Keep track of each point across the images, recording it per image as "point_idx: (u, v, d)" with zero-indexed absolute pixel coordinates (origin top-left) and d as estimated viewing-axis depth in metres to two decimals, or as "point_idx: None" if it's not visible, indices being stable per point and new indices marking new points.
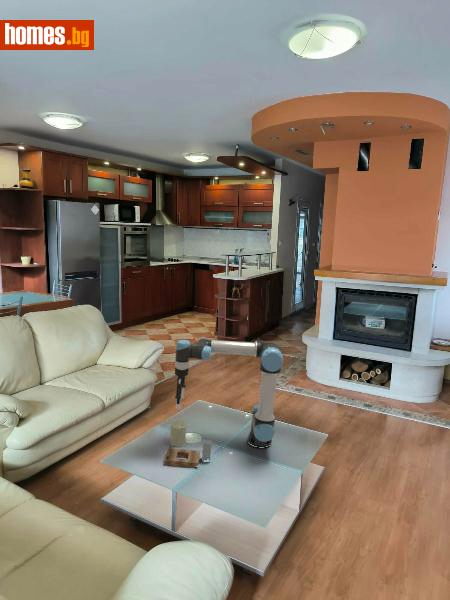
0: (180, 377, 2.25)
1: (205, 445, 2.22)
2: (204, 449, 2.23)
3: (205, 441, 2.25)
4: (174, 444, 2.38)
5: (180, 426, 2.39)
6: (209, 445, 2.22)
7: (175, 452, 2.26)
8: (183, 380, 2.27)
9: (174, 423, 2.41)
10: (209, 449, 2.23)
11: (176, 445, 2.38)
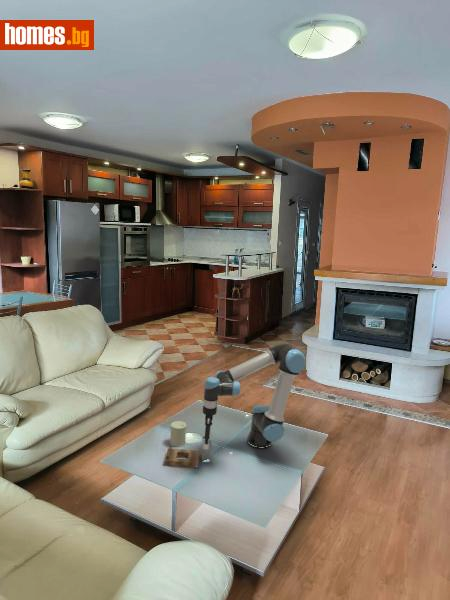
0: (209, 416, 2.18)
1: None
2: (204, 449, 2.23)
3: None
4: (174, 444, 2.38)
5: (180, 426, 2.39)
6: (209, 445, 2.22)
7: (175, 452, 2.26)
8: (211, 419, 2.20)
9: (174, 423, 2.41)
10: (209, 449, 2.23)
11: (176, 445, 2.38)
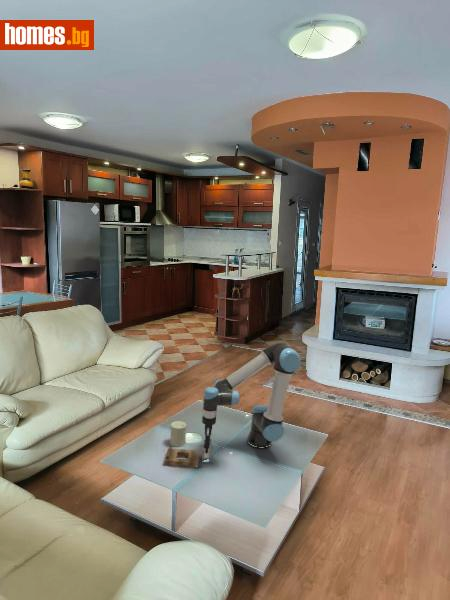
0: (208, 426, 2.19)
1: None
2: None
3: None
4: (174, 444, 2.38)
5: (180, 426, 2.39)
6: (209, 445, 2.22)
7: (175, 452, 2.26)
8: (211, 429, 2.21)
9: (174, 423, 2.41)
10: (209, 449, 2.23)
11: (176, 445, 2.38)
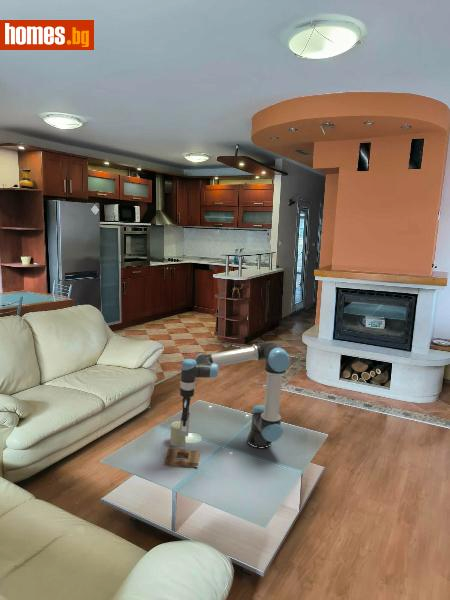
0: (186, 398, 2.14)
1: None
2: None
3: None
4: (174, 444, 2.38)
5: None
6: (187, 418, 2.18)
7: (175, 452, 2.26)
8: (189, 402, 2.16)
9: (174, 423, 2.41)
10: (187, 422, 2.18)
11: (176, 445, 2.38)
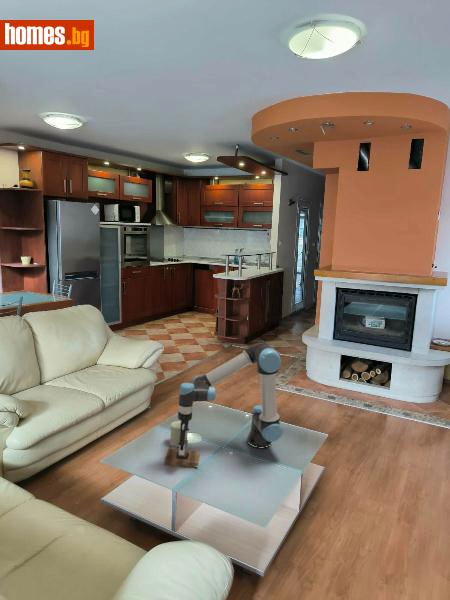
0: (184, 422, 2.16)
1: None
2: None
3: None
4: (174, 444, 2.38)
5: (180, 426, 2.39)
6: (185, 445, 2.21)
7: (175, 452, 2.26)
8: (187, 425, 2.18)
9: (174, 423, 2.41)
10: (185, 449, 2.21)
11: (176, 445, 2.38)
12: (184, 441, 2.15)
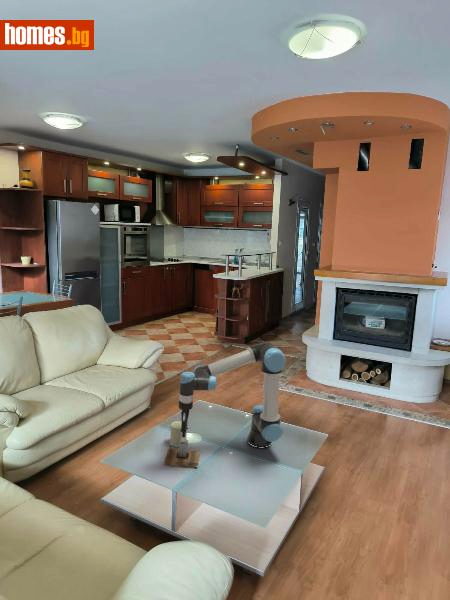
0: (184, 411, 2.15)
1: (180, 445, 2.21)
2: (180, 449, 2.21)
3: None
4: (174, 444, 2.38)
5: (180, 426, 2.39)
6: (185, 445, 2.21)
7: (175, 452, 2.26)
8: (187, 414, 2.18)
9: (174, 423, 2.41)
10: (185, 449, 2.21)
11: (176, 445, 2.38)
12: None
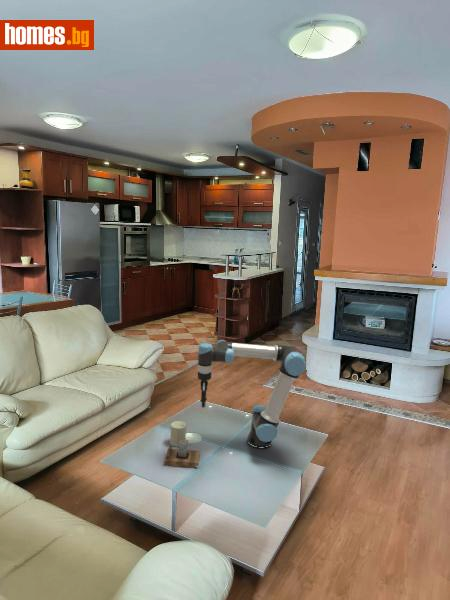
0: (204, 381, 2.22)
1: (180, 445, 2.21)
2: (180, 449, 2.21)
3: (181, 441, 2.23)
4: (174, 444, 2.38)
5: (180, 426, 2.39)
6: (185, 445, 2.21)
7: (175, 452, 2.26)
8: (206, 385, 2.25)
9: (174, 423, 2.41)
10: (185, 449, 2.21)
11: (176, 445, 2.38)
12: None
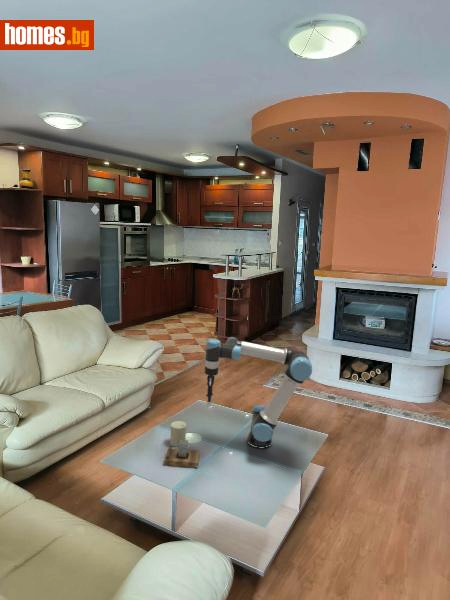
0: (210, 376, 2.26)
1: (180, 445, 2.21)
2: (180, 449, 2.21)
3: (181, 441, 2.23)
4: (174, 444, 2.38)
5: (180, 426, 2.38)
6: (185, 445, 2.21)
7: (175, 452, 2.26)
8: (213, 380, 2.29)
9: (174, 423, 2.41)
10: (185, 449, 2.21)
11: (176, 445, 2.38)
12: (211, 394, 2.30)
